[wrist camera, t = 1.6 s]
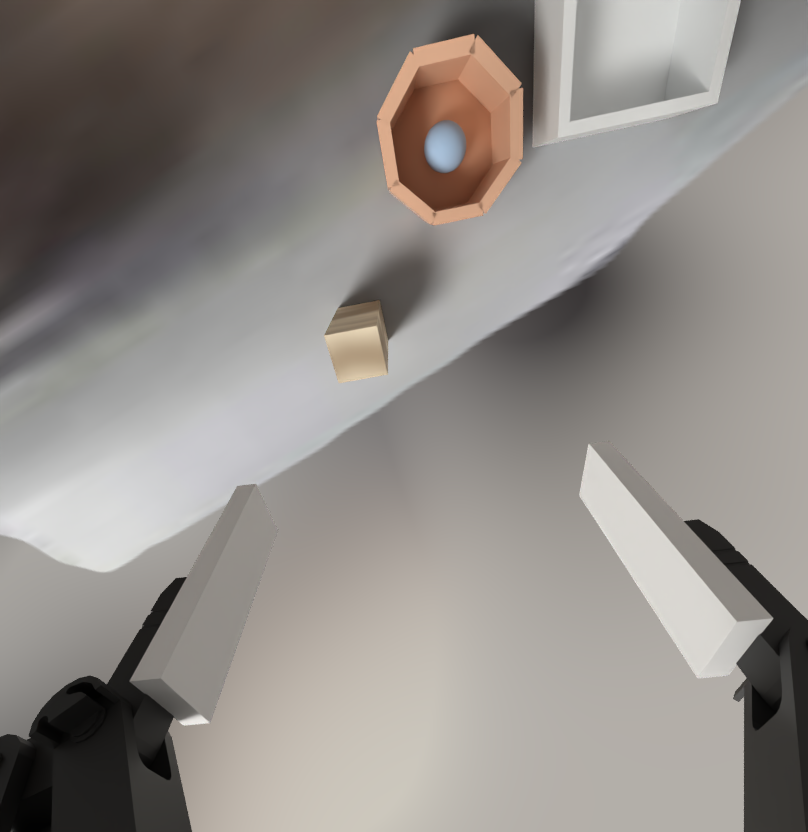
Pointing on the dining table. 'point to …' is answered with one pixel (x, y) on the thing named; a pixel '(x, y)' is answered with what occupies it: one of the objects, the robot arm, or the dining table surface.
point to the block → (358, 342)
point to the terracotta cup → (463, 104)
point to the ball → (445, 146)
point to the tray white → (625, 62)
